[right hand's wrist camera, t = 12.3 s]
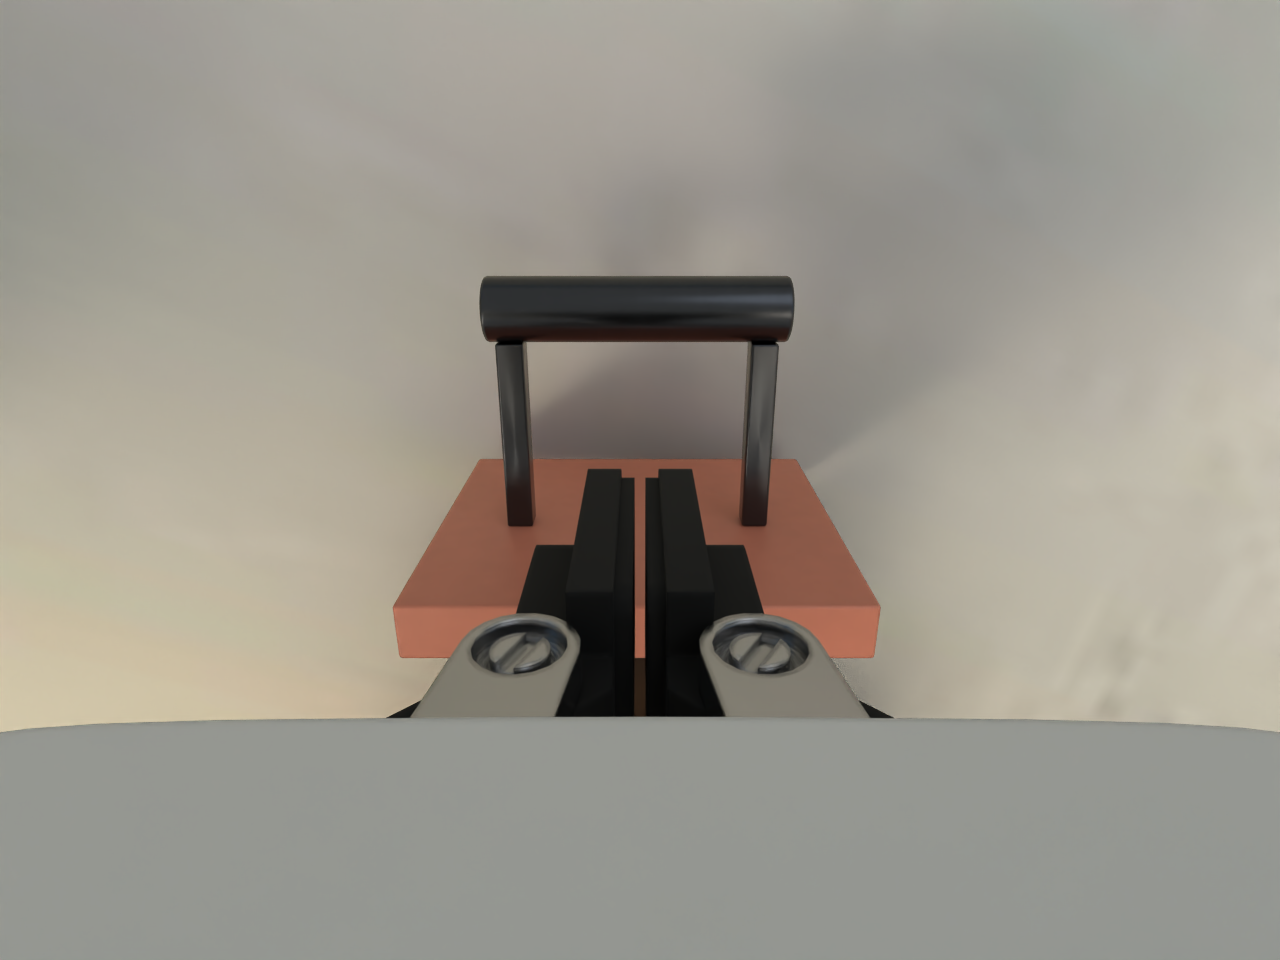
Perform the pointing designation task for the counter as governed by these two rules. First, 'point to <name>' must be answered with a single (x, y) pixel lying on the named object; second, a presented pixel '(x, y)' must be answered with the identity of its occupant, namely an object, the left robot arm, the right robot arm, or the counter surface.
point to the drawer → (635, 469)
